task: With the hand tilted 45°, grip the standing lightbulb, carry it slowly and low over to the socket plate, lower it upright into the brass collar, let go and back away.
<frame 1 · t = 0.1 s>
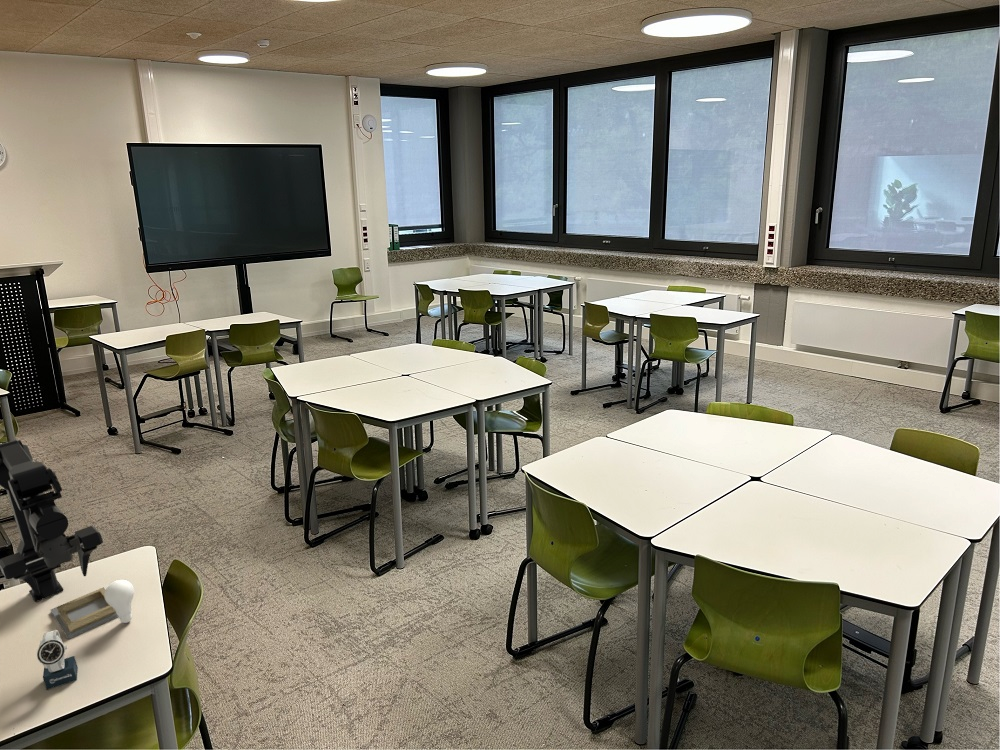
hand: (62, 584, 157), 15 cm above the table, tool pointing down, fingers open, 9 cm apart
socket plate: (89, 615, 170), on the table
lightbulb: (127, 622, 167), on the table
watch: (63, 679, 149), on the table
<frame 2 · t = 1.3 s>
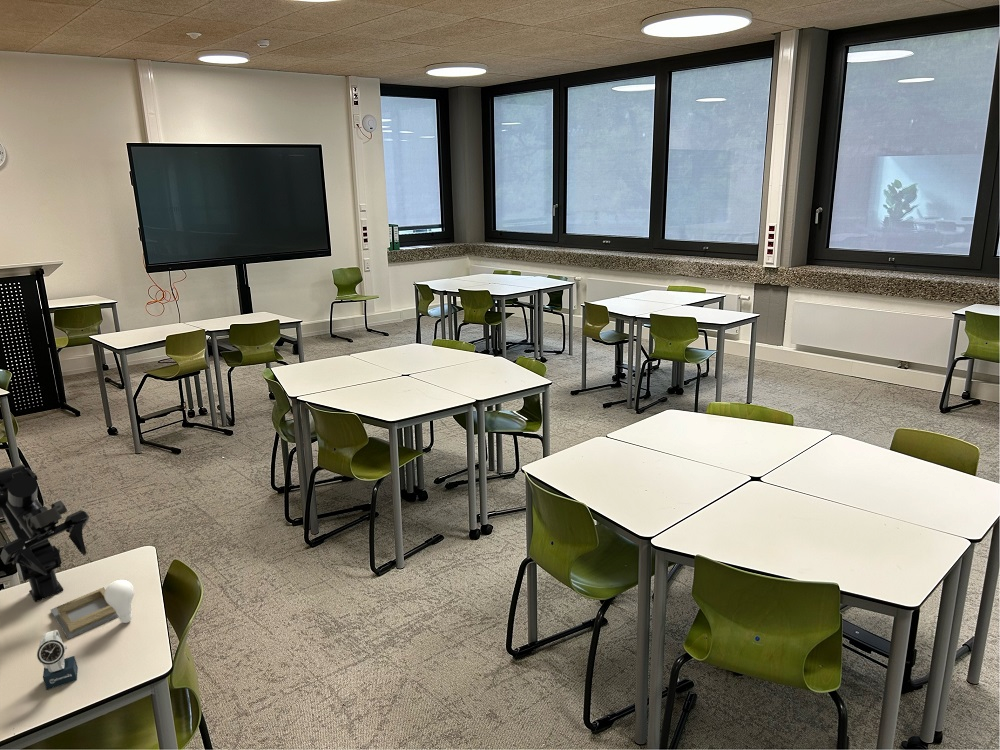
hand: (66, 564, 168), 13 cm above the table, tool tilted 45°, fingers open, 9 cm apart
nothing on the table moved.
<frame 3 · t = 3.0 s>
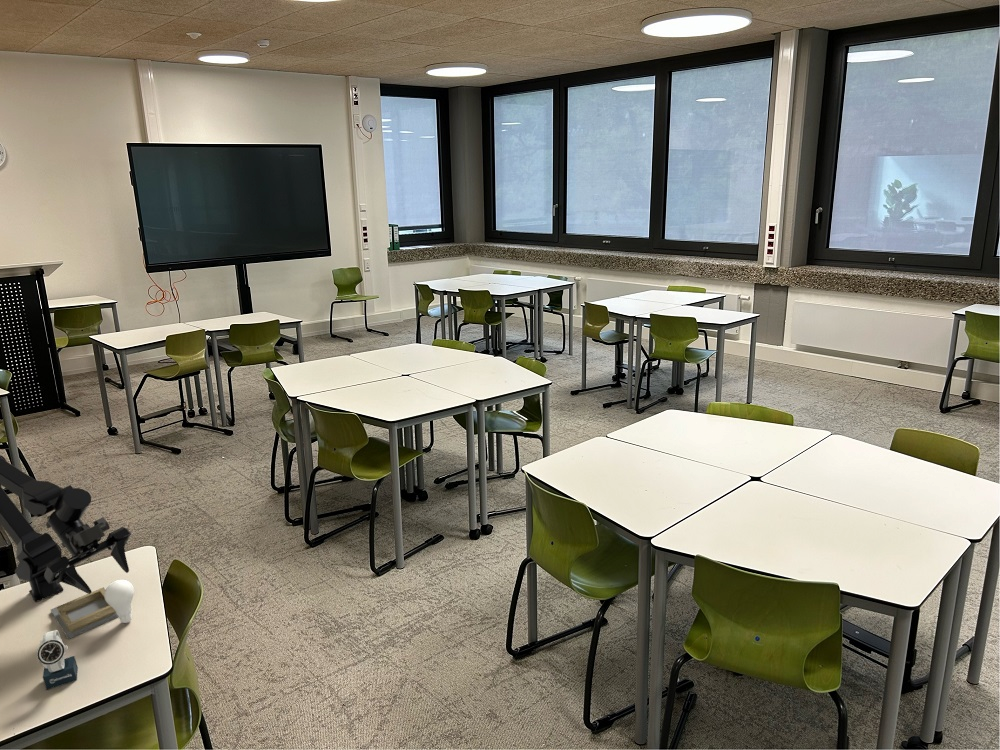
hand: (109, 582, 165), 10 cm above the table, tool tilted 45°, fingers open, 9 cm apart
nothing on the table moved.
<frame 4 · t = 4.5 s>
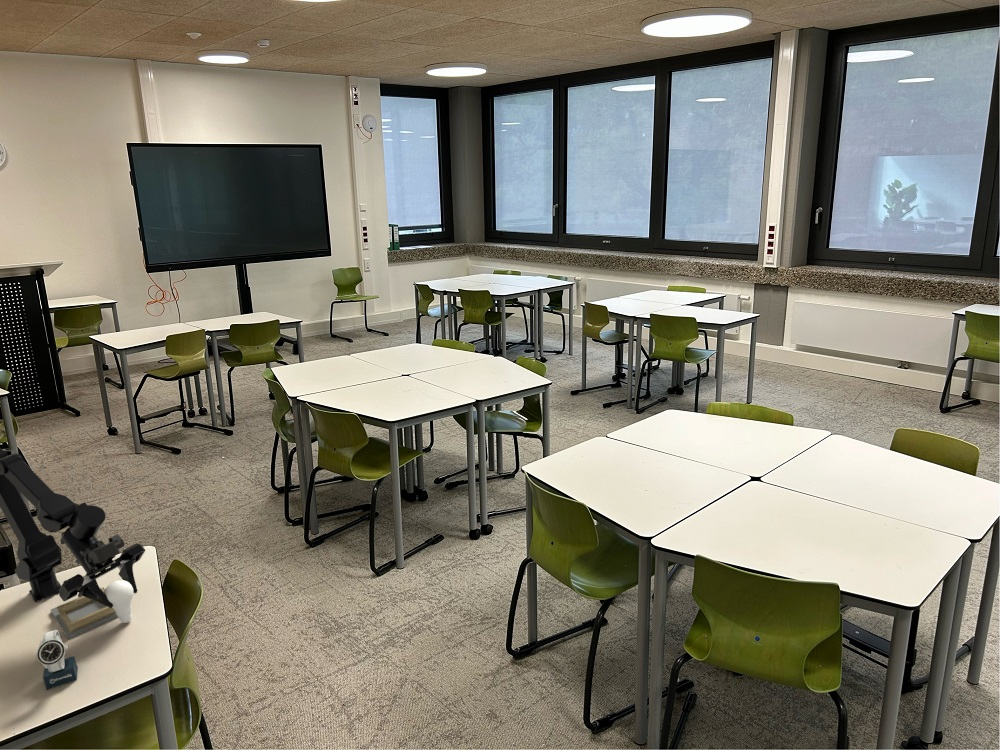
hand: (124, 599, 164), 7 cm above the table, tool tilted 45°, fingers closed on lightbulb, 6 cm apart
lightbulb: (127, 622, 167), on the table, touching gripper
everything else where it was.
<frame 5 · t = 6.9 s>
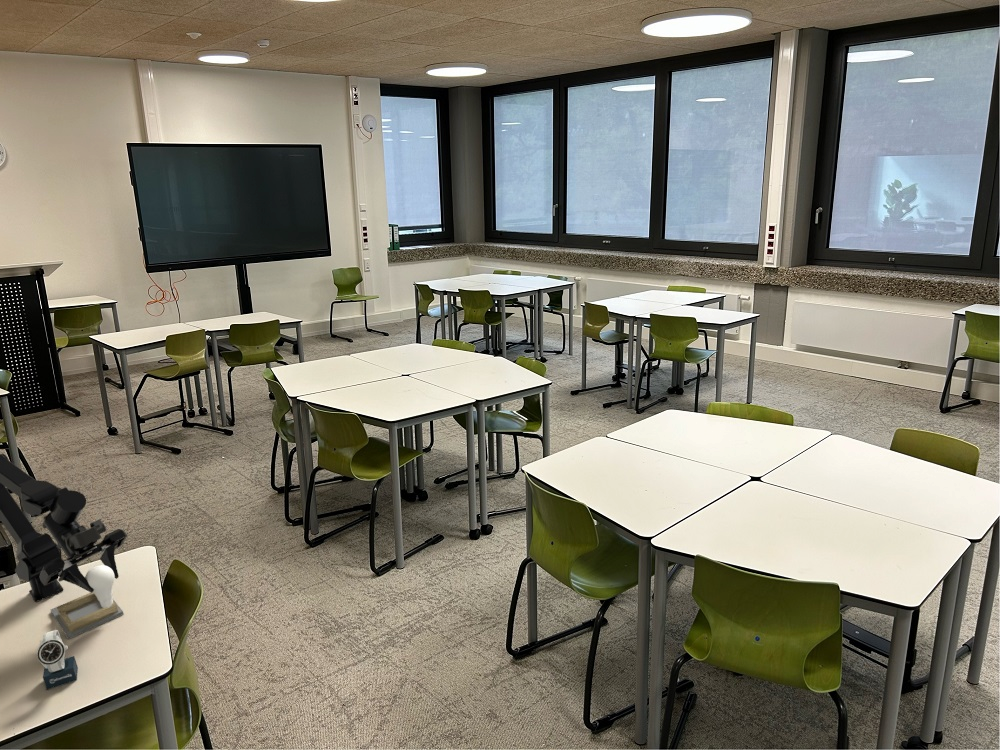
hand: (105, 584, 164), 10 cm above the table, tool tilted 45°, fingers closed on lightbulb, 6 cm apart
lightbulb: (108, 607, 167), point 3 cm above the table, touching gripper
everything else where it was.
when the fingers open (8 cm above the table, at t = 9.3 s): lightbulb stays where it is, resting on socket plate.
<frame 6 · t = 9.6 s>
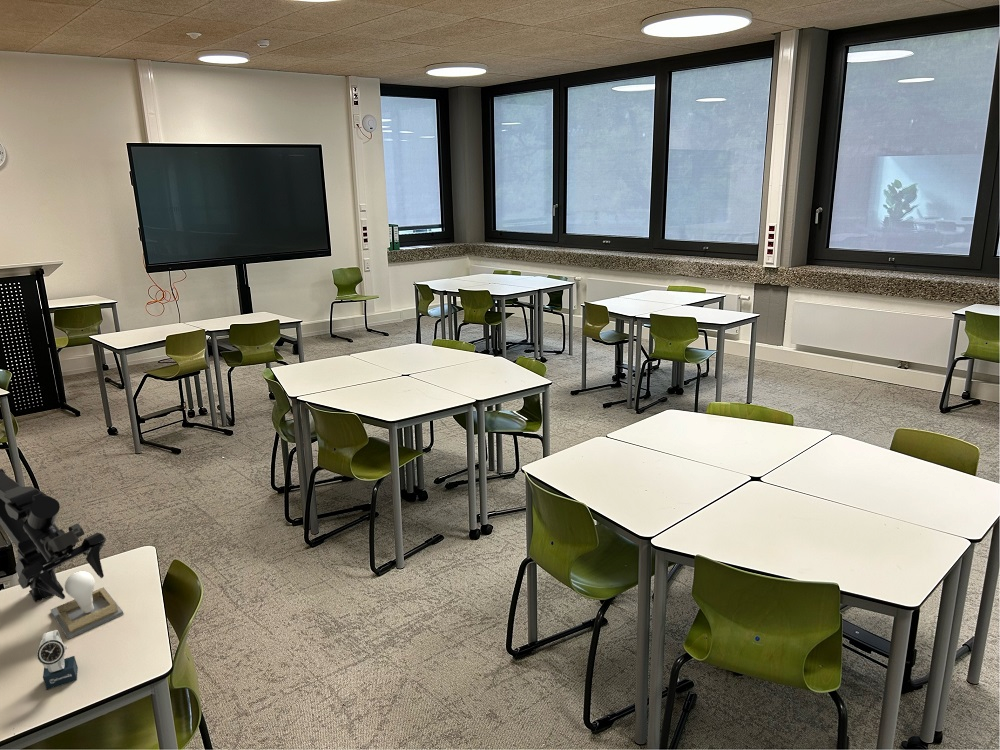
hand: (83, 587, 167), 8 cm above the table, tool tilted 45°, fingers open, 9 cm apart
lightbulb: (89, 613, 170), point 1 cm above the table, touching socket plate
everything else where it was.
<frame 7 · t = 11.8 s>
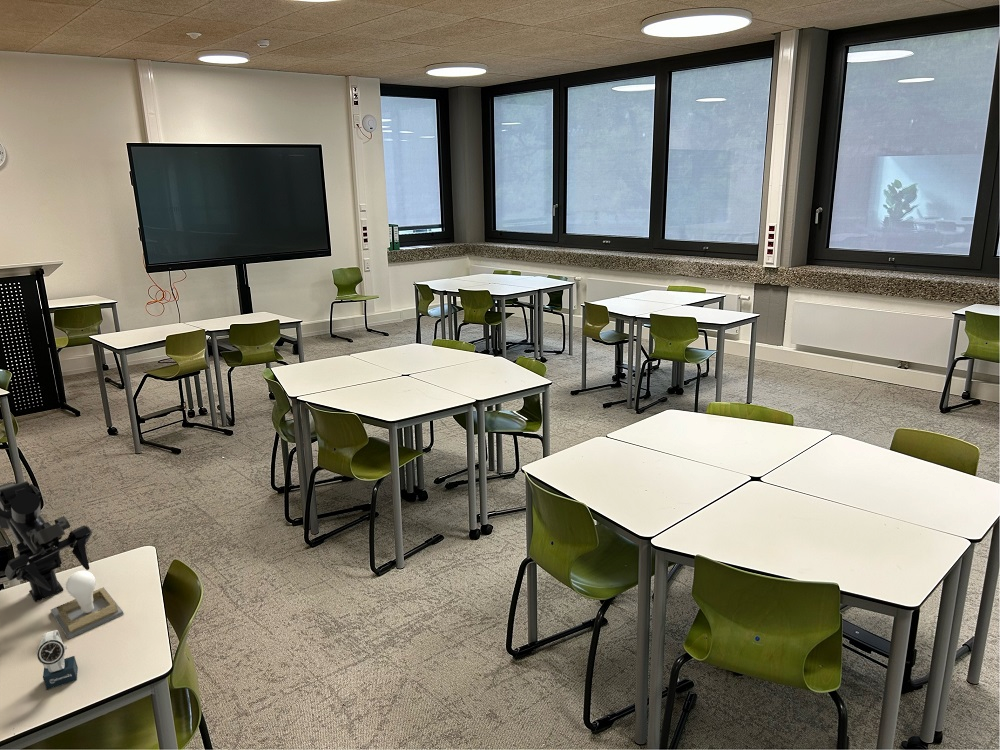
hand: (69, 579, 170), 9 cm above the table, tool tilted 45°, fingers open, 9 cm apart
nothing on the table moved.
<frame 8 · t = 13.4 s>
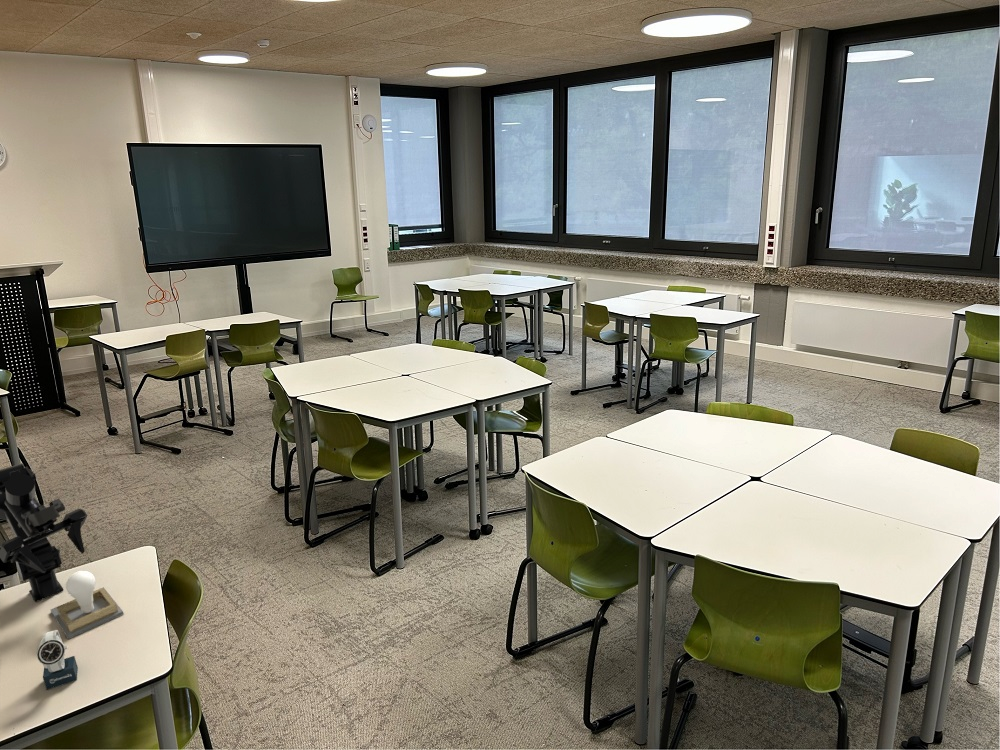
hand: (64, 562, 168), 14 cm above the table, tool tilted 45°, fingers open, 9 cm apart
nothing on the table moved.
at the end: lightbulb 0.2 cm from the target spot, point 0.6 cm above the table; lightbulb tilted 0°; the gripper is holding nothing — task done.
